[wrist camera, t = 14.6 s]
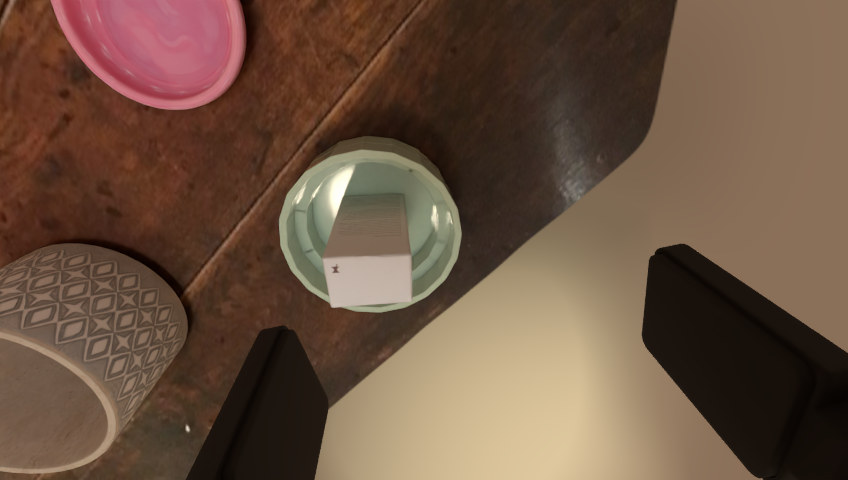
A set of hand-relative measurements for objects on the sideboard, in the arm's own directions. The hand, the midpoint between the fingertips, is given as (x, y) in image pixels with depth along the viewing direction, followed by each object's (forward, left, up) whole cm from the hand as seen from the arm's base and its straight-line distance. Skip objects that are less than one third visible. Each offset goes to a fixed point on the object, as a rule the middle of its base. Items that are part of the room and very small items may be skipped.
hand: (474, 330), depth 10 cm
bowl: (+6, +7, -26) cm, 28 cm away
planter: (+36, +11, -27) cm, 46 cm away
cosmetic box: (+6, +6, -26) cm, 27 cm away
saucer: (+17, -12, -27) cm, 34 cm away
